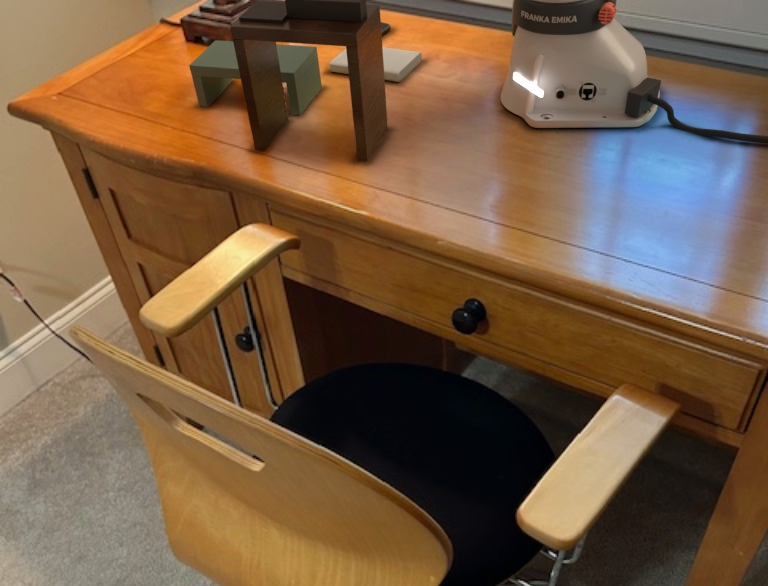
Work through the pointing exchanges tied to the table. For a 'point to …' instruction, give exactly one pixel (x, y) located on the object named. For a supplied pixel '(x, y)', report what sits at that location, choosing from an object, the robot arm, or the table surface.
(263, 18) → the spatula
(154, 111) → the table surface
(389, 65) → the hard drive
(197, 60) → the low shelf
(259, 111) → the high shelf
